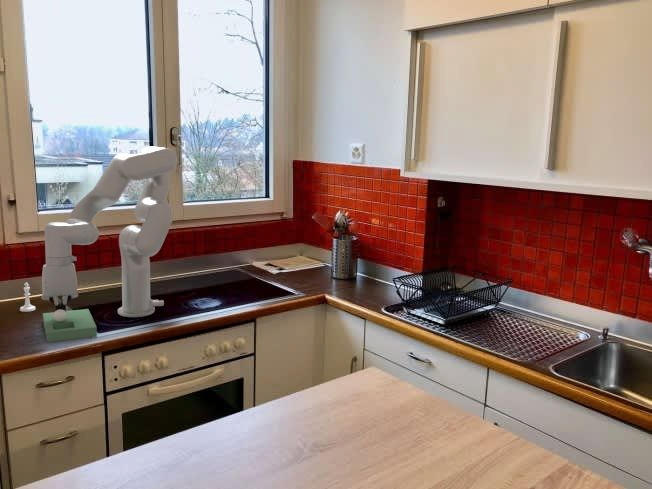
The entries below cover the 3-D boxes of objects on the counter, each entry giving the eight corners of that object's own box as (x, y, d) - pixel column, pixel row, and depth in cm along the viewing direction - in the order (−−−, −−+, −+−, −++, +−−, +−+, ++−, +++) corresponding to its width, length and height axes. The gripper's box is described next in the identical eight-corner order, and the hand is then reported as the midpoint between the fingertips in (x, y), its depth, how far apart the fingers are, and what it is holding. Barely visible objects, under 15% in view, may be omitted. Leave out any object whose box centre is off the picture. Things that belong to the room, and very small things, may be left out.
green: (88, 317, 190) (88, 308, 190) (96, 336, 173) (96, 327, 173) (43, 321, 183) (42, 313, 183) (47, 342, 166) (46, 332, 166)
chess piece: (28, 312, 192) (27, 284, 190) (16, 310, 193) (15, 283, 191) (38, 308, 197) (37, 281, 195) (26, 306, 198) (25, 280, 196)
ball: (65, 305, 177) (65, 312, 174) (68, 316, 179) (67, 323, 175) (52, 308, 176) (51, 315, 172) (55, 318, 178) (54, 325, 174)
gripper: (83, 257, 183) (84, 310, 186) (32, 259, 176) (34, 314, 179) (85, 262, 176) (87, 316, 180) (32, 264, 169) (35, 321, 173)
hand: (60, 315), depth 179 cm, fingers closed
